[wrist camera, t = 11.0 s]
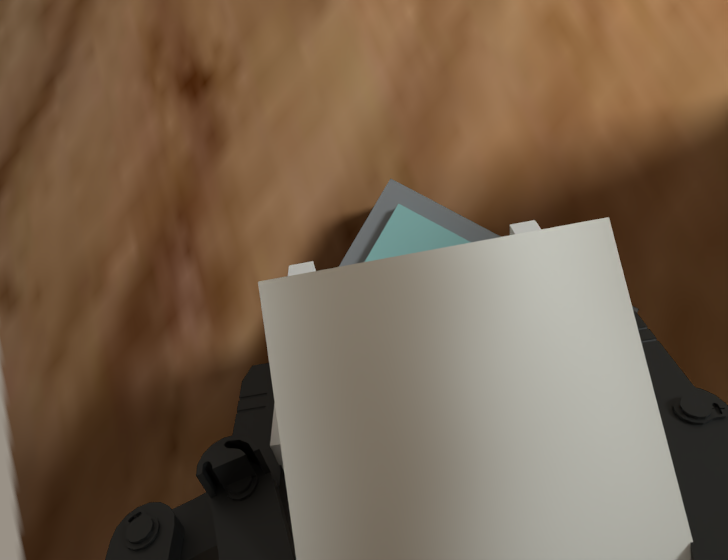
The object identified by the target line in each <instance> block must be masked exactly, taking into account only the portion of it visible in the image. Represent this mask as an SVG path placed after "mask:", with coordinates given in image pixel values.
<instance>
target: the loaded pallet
mask: <svg viewBox="0 0 728 560" xmlns="http://www.w3.org/2000/svg"><path fill="white" fill-rule="evenodd" d="M258 285H259V292H260V300H261V307H262V314H263V321H264V329H265V336H266V343H267V351H268V358H269V365H270V372H271V380H272V387H273V394H274V401H275V409H276V416H277V423H278V430H279V438H280V445H281V452H282V459H283V467H284V474H285V481H286V488H287V496H288V503H289V510H290V517H291V525H292V532H293V539H294V547H295V554H296V560H691V547H690V542H693V539H692V536H691V532H690V528H689V524H688V520H687V516H686V512H685V509H684V505H683V501H682V497H681V493H680V489H679V485H678V482H677V478H676V474H675V470H674V466H673V462H672V458H671V455H670V451H669V447H668V443H667V439H666V435H665V431H664V428H663V424H662V420H661V416H660V412H659V408H658V404H657V401H656V397H655V393H654V389H653V385H652V381H651V377H650V374H649V370H648V366H647V362H646V358H645V354H644V350H643V347H642V343H641V339H640V335H639V331H638V327H637V323H636V320H635V316H634V312H633V308H632V304H631V300H630V296H629V293H628V289H627V285H626V281H625V277H624V273H623V269H622V266H621V262H620V258H619V254H618V250H617V246H616V242H615V239H614V235H613V231H612V227H611V223H610V219H609V217H607V218H601V219H596V220H590V221H585V222H579V223H574V224H569V225H563V226H558V227H552V228H547V229H541V230H536V231H531V232H525V233H520V234H514V235H509V236H504V237H498V238H493V239H487V240H482V241H476V242H471V243H466V244H460V245H455V246H449V247H444V248H438V249H433V250H428V251H422V252H417V253H411V254H406V255H401V256H395V257H390V258H384V259H379V260H373V261H368V262H363V263H357V264H352V265H346V266H341V267H335V268H330V269H325V270H319V271H314V272H308V273H303V274H298V275H292V276H287V277H281V278H276V279H270V280H265V281H260V282H258Z"/></svg>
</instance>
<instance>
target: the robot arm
mask: <svg viewBox="0 0 728 560" xmlns="http://www.w3.org/2000/svg"><path fill="white" fill-rule="evenodd" d="M536 230H541V228H540V227H539V225H538V224H537V222H536V221H535V220H532V221H526V222H521V223H516V224H510V235H514V234H520V233H525V232H531V231H536ZM314 271H316V269H315V266H314V263H313V261H311V262H306V263H301V264H295V265H290V266H289V271H288V276H292V275H298V274H303V273H308V272H314ZM633 312H634V316H635V320H636V323H637V327H638V331H639V335H640V339H641V343H642V347H643V350H644V354H645V358H646V362H647V366H648V370H649V374H650V377H651V381H652V385H653V389H654V393H655V397H656V401H657V404H658V408H659V412H660V416H661V420H662V424H663V428H664V431H665V435H666V439H667V443H668V447H669V451H670V455H671V458H672V462H673V466H674V470H675V474H676V478H677V482H678V485H679V489H680V493H681V497H682V501H683V505H684V509H685V512H686V516H687V520H688V524H689V528H690V532H691V536H692V539H693V542H690V547H691V560H728V405H727V404H726V403H725V402H723V401H722V400H721V399H719V398H718V397H717V396H716V395H714V394H712V393H710V392H707V391H705V390H703V389H700V388H696V387H695V386H694V385H693V384H692V383H691V382H690V381H689V379H688V378H687V377H686V376H685V374H684V373H683V372H682V370H681V369H680V368H679V367H678V365H677V364H676V363H675V361H674V360H673V359H672V358H671V356H670V355H669V354H668V352H667V351H666V350H665V349H664V347H663V346H662V345H661V343H660V342H659V341H657V340H656V337H655V336H654V334H653V333H652V332H651V331H650V329H648V328H647V325H646V324H645V323H644V322H643V320H642V319H641V318H640V316H639V315H638V314H637V313H636V311H634V310H633ZM239 398H240V401H239V402H238V408H237V414H236V419H235V424H234V430H233V435H232V436H229V437H225V438H223V439H221V440H219V441H218V442H216V443H214V444H212V445H211V446H210V447H209V448H208V449H207V450H206V452H205V453H204V454H203V455H202V457H201V459H200V461H199V463H198V465H197V473H196V476H197V478H198V479H199V481H200V483H201V484H202V486H203V487H204V489H205V490H206V493H204V494H202V495H201V496H199V497H197V498H195V499H193V500H191V501H189V502H187V503H185V504H182V505H180V506H178V507H176V508H174V509H171V508H170V507H169V506H168V505H166V504H163V503H161V502H153V503H147V504H145V505H142V506H140V507H137V508H136V509H135V510H133V511H132V512H131V513H129V514H128V515H127V516H126V517H125V518H124V519H123V520H122V521H121V523H120V524H119V525H118V526H117V528H116V530H115V532H114V534H113V536H112V538H111V541H110V545H109V548H108V552H107V555H106V559H105V560H296V554H295V547H294V539H293V532H292V525H291V517H290V510H289V503H288V496H287V488H286V481H285V474H284V467H283V459H282V452H281V445H280V438H279V430H278V423H277V416H276V409H275V401H274V394H273V387H272V380H271V372H270V365H269V363H265V364H259V365H254V366H252V367H251V368H250V370H249V372H248V373H247V375H246V376H245V378H244V379H243V381H242V385H241V391H240V397H239Z"/></svg>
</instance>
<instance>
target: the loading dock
mask: <svg viewBox="0 0 728 560" xmlns="http://www.w3.org/2000/svg"><path fill="white" fill-rule="evenodd" d="M498 237H501V236H499V235H497V234H495V233H493V232H491V231H489V230H487V229H485V228H484V227H482V226H480V225H478V224H476V223H474V222H472V221H470V220H468V219H466V218H465V217H463V216H461V215H459V214H457V213H455V212H453V211H451V210H449V209H447V208H446V207H444V206H442V205H440V204H438V203H436V202H434V201H432V200H430V199H428V198H427V197H425V196H423V195H421V194H419V193H417V192H415V191H413V190H411V189H409V188H408V187H406V186H404V185H402V184H400V183H398V182H396V181H394V180H392V179H390V180H389V182H388V184H387V186H386V187H385V189H384V191H383V192H382V194H381V196H380V197H379V199H378V201H377V202H376V204H375V206H374V208H373V209H372V211H371V213H370V214H369V216H368V218H367V219H366V221H365V223H364V225H363V226H362V228H361V230H360V231H359V233H358V235H357V236H356V238H355V240H354V242H353V243H352V245H351V247H350V248H349V250H348V252H347V253H346V255H345V257H344V259H343V260H342V262H341V264H340V265H339V267H341V266H346V265H352V264H357V263H363V262H368V261H373V260H379V259H384V258H390V257H395V256H401V255H406V254H411V253H417V252H422V251H428V250H433V249H438V248H444V247H449V246H455V245H460V244H466V243H471V242H476V241H482V240H487V239H493V238H498ZM632 308H633V310H634V311H636V313H637V312H638V310H639V309H637V308H635V307H634V306H632Z"/></svg>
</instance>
